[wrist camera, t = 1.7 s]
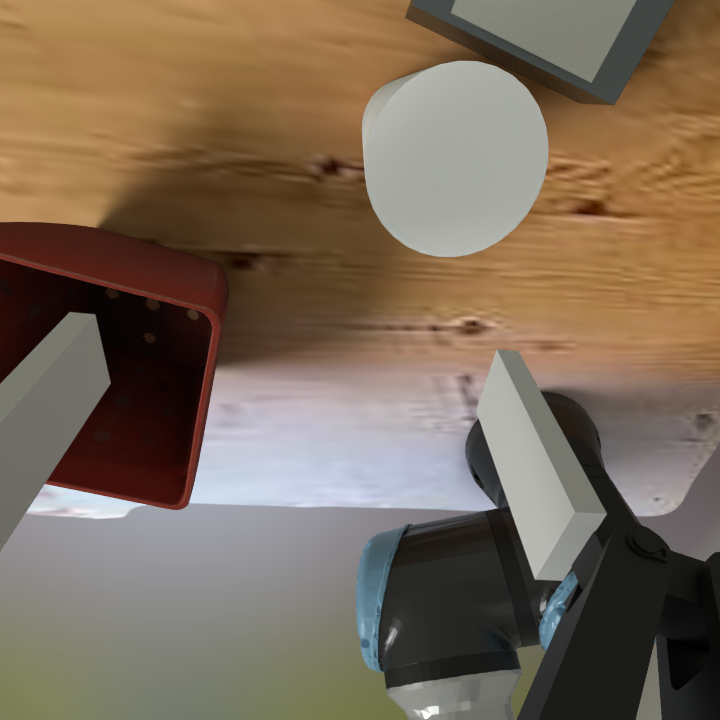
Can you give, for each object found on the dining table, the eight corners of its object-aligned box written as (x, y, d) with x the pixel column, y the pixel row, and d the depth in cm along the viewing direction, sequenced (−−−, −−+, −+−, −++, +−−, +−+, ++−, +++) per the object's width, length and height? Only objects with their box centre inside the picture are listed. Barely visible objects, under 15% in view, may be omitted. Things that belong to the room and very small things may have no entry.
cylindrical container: (444, 168, 42) (537, 251, 20) (364, 174, 42) (370, 262, 20) (446, 75, 38) (560, 52, 17) (358, 82, 39) (358, 68, 17)
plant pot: (266, 242, 45) (222, 314, 31) (232, 400, 54) (186, 514, 40) (56, 179, 42) (-103, 225, 28) (57, 357, 51) (-63, 463, 37)
